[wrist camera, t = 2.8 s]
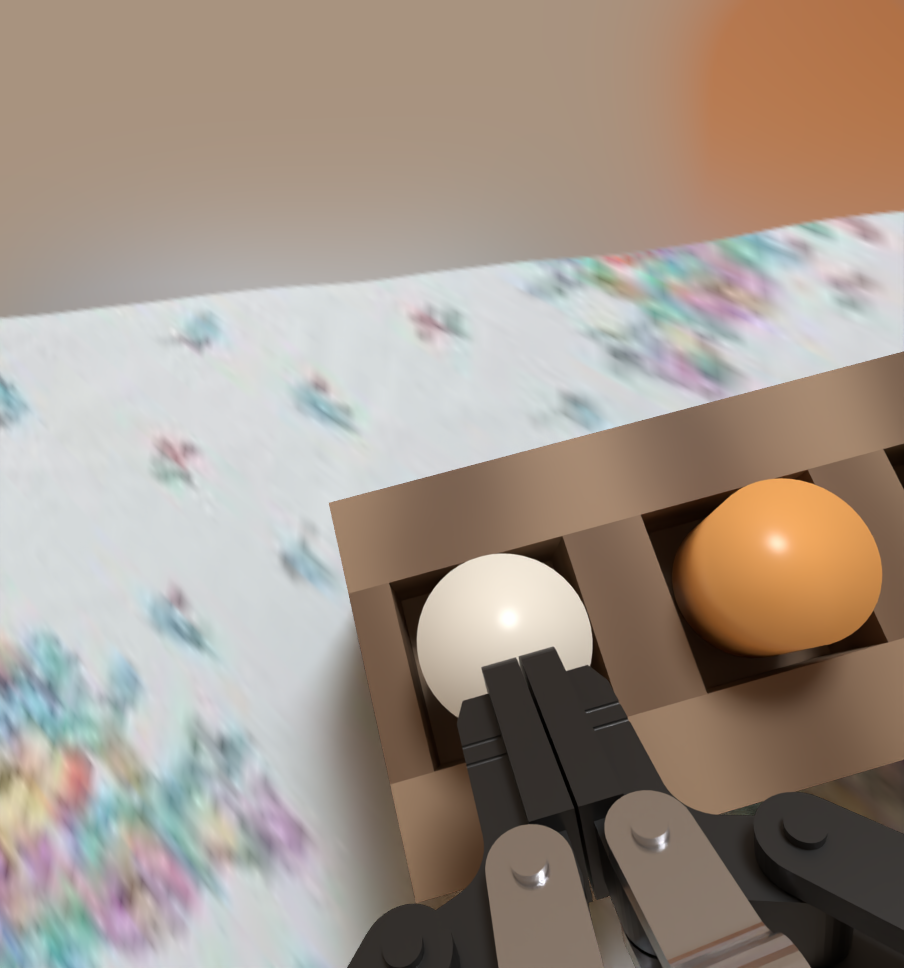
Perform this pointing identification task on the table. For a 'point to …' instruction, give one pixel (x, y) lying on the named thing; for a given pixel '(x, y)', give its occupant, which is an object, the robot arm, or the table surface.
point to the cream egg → (497, 623)
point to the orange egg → (777, 570)
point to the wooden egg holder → (643, 600)
